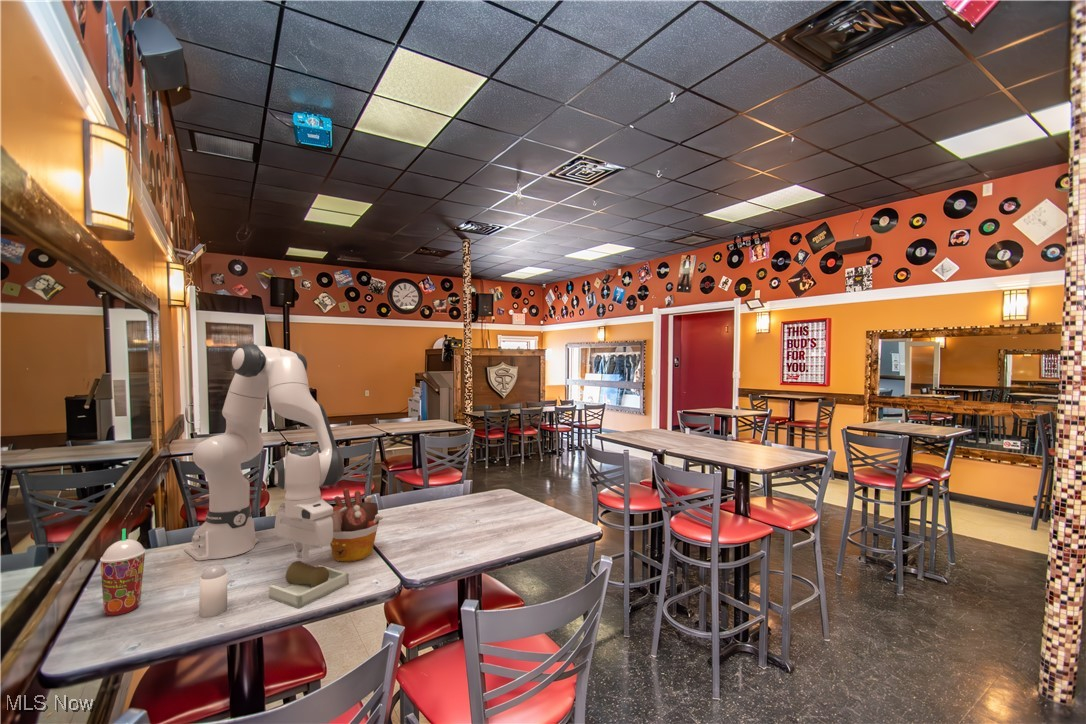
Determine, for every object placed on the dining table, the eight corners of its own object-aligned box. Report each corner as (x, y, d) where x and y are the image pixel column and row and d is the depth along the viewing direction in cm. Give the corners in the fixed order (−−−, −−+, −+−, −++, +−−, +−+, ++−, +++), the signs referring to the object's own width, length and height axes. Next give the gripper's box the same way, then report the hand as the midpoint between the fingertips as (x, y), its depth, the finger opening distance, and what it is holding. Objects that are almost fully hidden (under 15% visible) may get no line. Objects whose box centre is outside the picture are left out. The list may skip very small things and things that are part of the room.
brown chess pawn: (282, 583, 124) (310, 589, 120) (290, 559, 127) (319, 564, 123) (299, 585, 129) (328, 590, 125) (308, 562, 132) (335, 567, 128)
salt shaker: (194, 614, 112) (195, 567, 112) (219, 603, 117) (220, 559, 117) (207, 619, 109) (207, 572, 109) (231, 609, 114) (232, 563, 114)
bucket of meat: (387, 559, 145) (388, 496, 145) (331, 572, 135) (332, 504, 136) (370, 540, 161) (370, 483, 162) (319, 551, 151) (319, 490, 152)
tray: (269, 597, 120) (269, 586, 120) (320, 575, 133) (320, 564, 133) (298, 608, 114) (298, 596, 114) (348, 584, 128) (348, 573, 128)
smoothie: (91, 622, 108) (93, 536, 109) (108, 605, 116) (110, 526, 116) (136, 614, 112) (138, 532, 112) (149, 599, 119) (151, 521, 120)
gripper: (268, 504, 128) (267, 554, 128) (316, 514, 119) (316, 568, 118) (289, 499, 134) (289, 547, 133) (337, 508, 124) (337, 559, 124)
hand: (302, 557), depth 126 cm, fingers closed
